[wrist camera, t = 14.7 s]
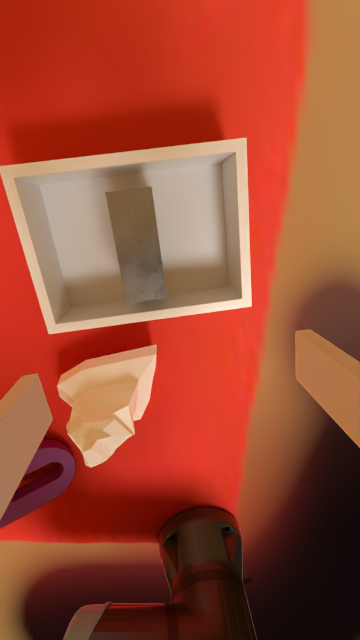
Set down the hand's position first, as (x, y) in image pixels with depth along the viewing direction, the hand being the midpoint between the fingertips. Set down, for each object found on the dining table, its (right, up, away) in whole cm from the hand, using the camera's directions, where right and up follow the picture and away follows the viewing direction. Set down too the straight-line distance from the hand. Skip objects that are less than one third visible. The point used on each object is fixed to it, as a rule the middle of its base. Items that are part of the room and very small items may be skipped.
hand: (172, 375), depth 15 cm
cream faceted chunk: (-9, -6, +27) cm, 29 cm away
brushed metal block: (-4, +12, +19) cm, 23 cm away
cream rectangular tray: (-4, +13, +20) cm, 24 cm away
